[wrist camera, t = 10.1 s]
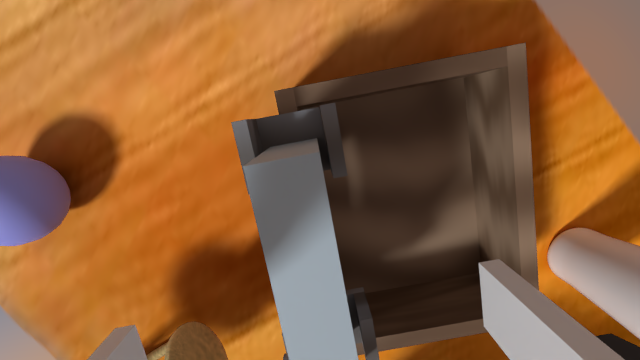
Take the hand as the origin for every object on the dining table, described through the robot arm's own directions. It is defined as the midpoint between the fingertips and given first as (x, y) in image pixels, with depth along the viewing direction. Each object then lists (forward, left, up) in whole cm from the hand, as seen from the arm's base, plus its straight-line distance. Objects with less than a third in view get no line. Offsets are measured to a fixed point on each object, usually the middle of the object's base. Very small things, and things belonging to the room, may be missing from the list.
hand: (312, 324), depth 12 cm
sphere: (-6, -23, -17) cm, 29 cm away
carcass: (0, +6, -17) cm, 18 cm away
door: (+1, 0, -10) cm, 10 cm away
